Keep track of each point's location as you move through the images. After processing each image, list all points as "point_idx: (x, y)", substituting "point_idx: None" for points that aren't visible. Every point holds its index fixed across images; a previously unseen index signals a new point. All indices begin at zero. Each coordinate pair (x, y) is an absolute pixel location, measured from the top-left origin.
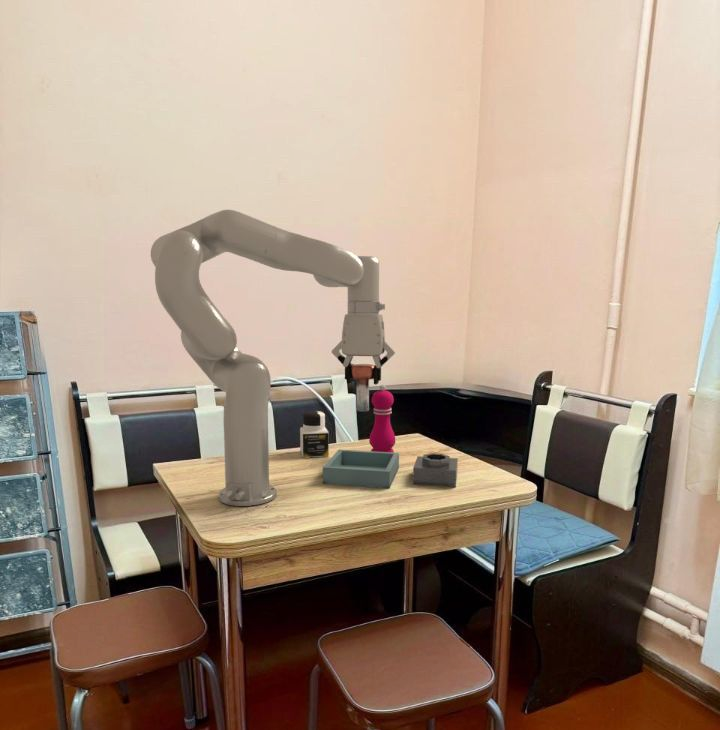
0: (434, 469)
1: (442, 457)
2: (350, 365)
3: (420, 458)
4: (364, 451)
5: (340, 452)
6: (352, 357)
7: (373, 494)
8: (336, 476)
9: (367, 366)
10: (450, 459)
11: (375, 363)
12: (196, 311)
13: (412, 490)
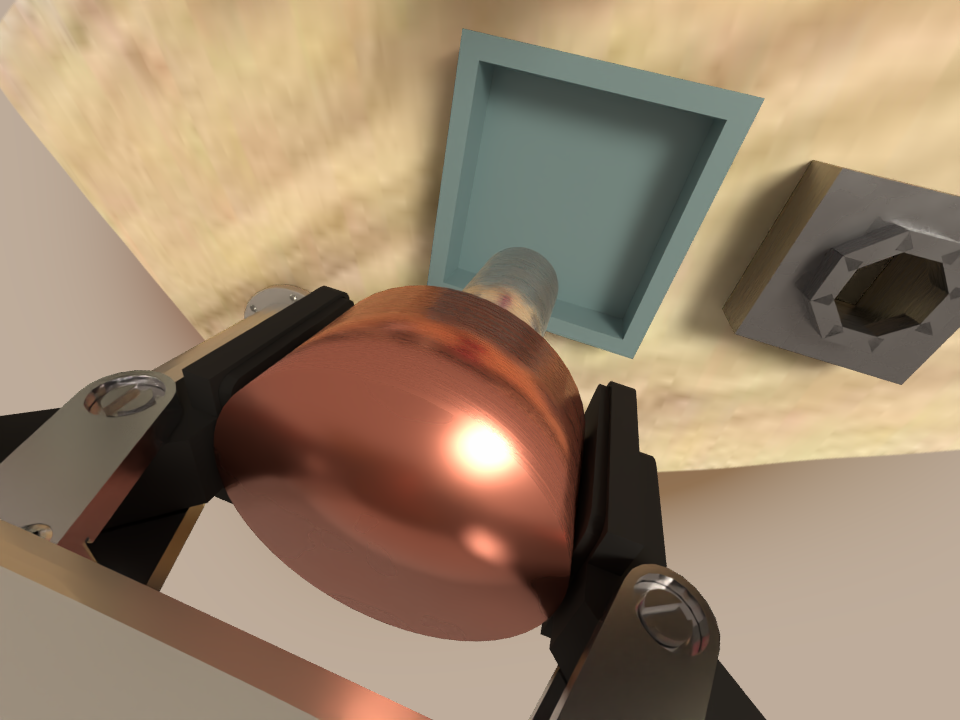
0: (815, 358)
1: (938, 272)
2: (212, 453)
3: (836, 210)
4: (584, 70)
5: (472, 91)
6: (96, 531)
7: (576, 368)
8: None
9: (445, 606)
10: None
11: (545, 708)
12: None
13: (698, 357)
